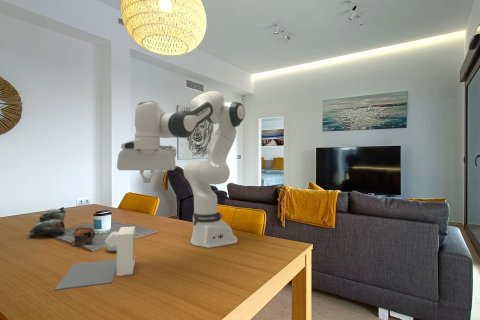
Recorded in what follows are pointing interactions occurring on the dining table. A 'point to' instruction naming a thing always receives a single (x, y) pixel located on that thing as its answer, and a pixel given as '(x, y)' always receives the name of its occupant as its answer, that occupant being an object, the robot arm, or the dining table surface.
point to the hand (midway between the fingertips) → (147, 182)
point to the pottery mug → (83, 236)
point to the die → (112, 241)
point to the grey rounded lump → (50, 223)
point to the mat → (89, 274)
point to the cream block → (125, 251)
